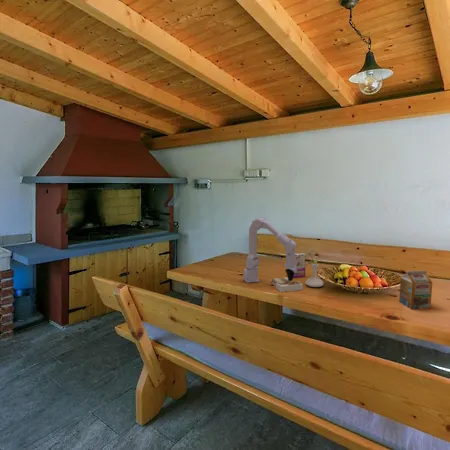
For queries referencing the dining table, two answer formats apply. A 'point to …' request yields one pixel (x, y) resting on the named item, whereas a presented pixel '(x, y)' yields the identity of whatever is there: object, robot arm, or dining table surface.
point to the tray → (290, 287)
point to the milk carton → (416, 290)
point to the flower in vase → (314, 280)
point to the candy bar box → (299, 265)
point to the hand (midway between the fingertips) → (290, 280)
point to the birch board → (282, 281)
